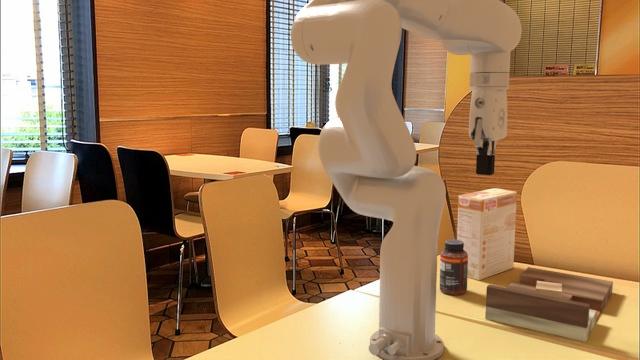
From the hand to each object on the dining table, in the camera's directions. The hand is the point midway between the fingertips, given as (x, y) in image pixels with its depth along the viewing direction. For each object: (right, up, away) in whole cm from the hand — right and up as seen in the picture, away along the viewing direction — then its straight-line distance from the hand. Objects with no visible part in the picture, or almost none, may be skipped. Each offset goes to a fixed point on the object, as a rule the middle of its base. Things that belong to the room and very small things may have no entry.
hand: (484, 174), depth 115 cm
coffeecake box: (+7, -24, +25) cm, 35 cm away
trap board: (+15, -27, +3) cm, 31 cm away
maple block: (+10, -26, -6) cm, 28 cm away
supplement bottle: (-4, -26, +11) cm, 28 cm away
